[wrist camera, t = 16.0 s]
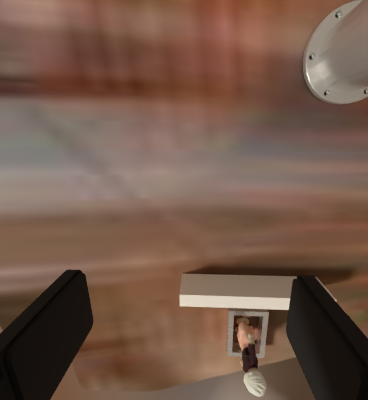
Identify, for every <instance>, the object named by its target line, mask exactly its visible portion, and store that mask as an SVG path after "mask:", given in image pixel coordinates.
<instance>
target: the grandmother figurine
mask: <svg viewBox="0 0 368 400" xmlns="http://www.w3.org/2000/svg"><path fill="white" fill-rule="evenodd" d="M236 323H237V324H238V325H239V326H238V327H236V328H235V332H236V333H237V337H238V341H239V345H240V347H241V349H242V359H241V360H240V363H241V365H242V367H243V370H244V371H245V372H246V373H245V375H244V383H245V384H246V387H247V389H248V390H249V392H251V393H252V394H254V395H255V396H257V397H260V396H263V395H264V393H265V391H266V382H265V380H264V378H263V375H262V373H261V372H260V371H259V370H258V369H257V366H258V360H257V356H256V353H255V343H254V331H253V327H252V326H249V319H247V318H238V319H237V320H236Z"/></svg>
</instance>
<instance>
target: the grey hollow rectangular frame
mask: <svg viewBox="0 0 368 400" xmlns="http://www.w3.org/2000/svg"><path fill="white" fill-rule="evenodd" d="M234 315H241V316H259V319H258V330H257V342H256V343H255V353H256V356H257V357H258V358H264V354H265V345H266V336H267V326H268V317H269V311H268V309H247V308H227V324H226V351H227V356H240V357H242V349H241V347H240V345H239V342H234V341H233V325H234Z"/></svg>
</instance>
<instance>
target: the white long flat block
mask: <svg viewBox="0 0 368 400" xmlns="http://www.w3.org/2000/svg"><path fill="white" fill-rule="evenodd" d="M315 278H316V279H317V280H318V281H319V282H320V284H321V285H322V286H323V287H324V288H325V289H326V291H327V292H328V293H329V294H330V295H331V297H332V298H333V299H334V300H335V301H337V300H336V298H335V297H334V296H333V295H332V294H331V293H330V292H329V290H328V289H327V288H326V287H325V286H324V285H323V283H322V282H321V281H320V280H319V279H318V278H317V277H315ZM293 279H297V276H260V275H219V274H182V280H181V287H180V306H193V307H220V308H247V309H274V310H289V304H290V297H291V289H292V282H293Z"/></svg>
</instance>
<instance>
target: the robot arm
mask: <svg viewBox="0 0 368 400" xmlns="http://www.w3.org/2000/svg"><path fill="white" fill-rule="evenodd" d="M309 57H310V59H309ZM303 73H304V78H305V81H306V83H307V85H308V87H309V89H310V90H311V92H312V93H313V94H314V95H315V96H316V97H318V98H319V99H321V100H323V101H324V102H327V103H331V104H339V105H342V104H349V103H353V102H357V101H360V100H362V99H364V98H367V97H368V0H355V1H351V2H349V3H346V4H344V5H342V6H340V7H338V8H337V9H335V10H334V11H332V12H331V13H330V14H329V15H328V16H327V17H326V18H325V19H324V20H323V21H322V22H321V23H320V24H319V25H318V26H317V28H316V29H315V30H314V32H313V33H312V35H311V37H310V39H309V41H308V43H307V46H306V49H305V52H304V58H303ZM324 93H325V95H324ZM92 325H93V315H92V309H91V304H90V298H89V293H88V287H87V282H86V276H85V274H84V273H82V271H81V270H66V271H65V272H64V273H63V274H62V275H61V276H60V277H59V278H58V279H57V280H56V281H55V282H54V283H52V284H51V285H50V286H49V287H48V288H47V289H46V290H45V291H44V292H43V293H42V294H41V295H40V296H39V297H38V298H37V299H36V300H35V301H34V302H33V303H32V304H31V305H30V306H29V307H28V308H26V309H25V310H24V311H23V312H22V313H21V314H20V315H19V316H18V317H17V318H16V319H15V320H14V321H13V322H12V323H11V324H10V325H9V326H8V327H7V328H6V329H5V330H4V331H3V332H2V333H1V334H0V400H50V399H51V397H52V395H53V394H54V392H55V390H56V388H57V387H58V385H59V383H60V382H61V380H62V378H63V376H64V375H65V373H66V371H67V369H68V368H69V366H70V364H71V363H72V361H73V359H74V358H75V356H76V354H77V352H78V351H79V349H80V347H81V345H82V344H83V342H84V340H85V339H86V337H87V335H88V333H89V332H90V330H91V328H92ZM286 332H287V336H288V339H289V341H290V344H291V346H292V348H293V350H294V352H295V355H296V357H297V359H298V361H299V364H300V366H301V368H302V370H303V373H304V374H305V377H306V379H307V381H308V384H309V386H310V388H311V390H312V393H313V394H314V397H315V399H316V400H368V338H367V337H366V336H365V335H364V334H363V333H362V331H361V330H360V329H359V328H358V327H357V325H356V324H355V323H354V322H353V321H352V320H351V318H350V317H349V316H348V315H347V314H346V313H345V312H344V311H343V310H342V308H341V307H340V306H339V305H338V304H337V302H336V301H335V300H334V299H333V298H332V297H331V295H330V294H329V293H328V292H327V291H326V289H325V288H324V287H323V286H322V285H321V284H320V282H319V281H318V280H317V279H316V278H315V277H314V276H311V275H298V276H297V279H293V282H292V289H291V297H290V304H289V311H288V318H287V326H286Z"/></svg>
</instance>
